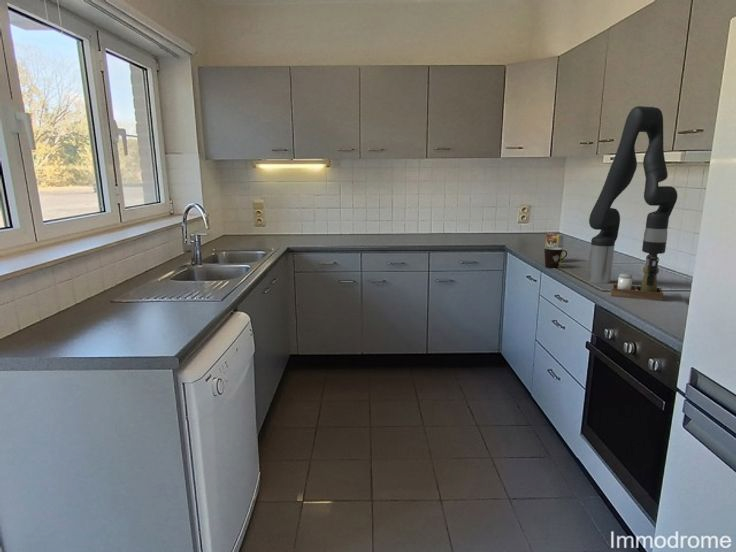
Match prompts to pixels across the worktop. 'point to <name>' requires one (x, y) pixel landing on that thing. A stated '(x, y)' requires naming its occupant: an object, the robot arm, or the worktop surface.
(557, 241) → the candy box
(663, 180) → the robot arm
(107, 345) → the worktop surface
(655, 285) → the cork
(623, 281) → the salt shaker
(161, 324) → the worktop surface
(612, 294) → the spice caddy
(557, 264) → the coffee mug
